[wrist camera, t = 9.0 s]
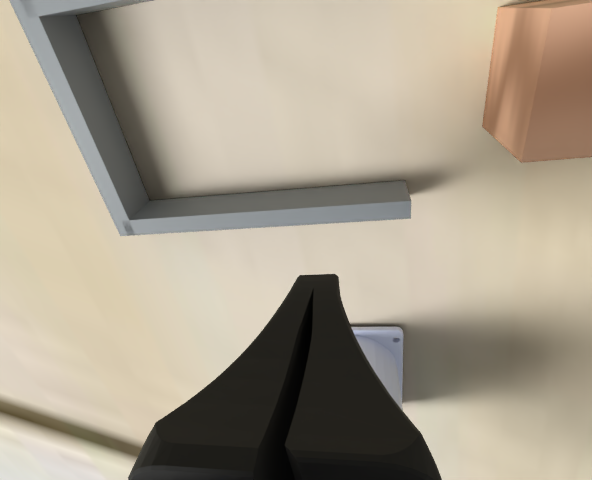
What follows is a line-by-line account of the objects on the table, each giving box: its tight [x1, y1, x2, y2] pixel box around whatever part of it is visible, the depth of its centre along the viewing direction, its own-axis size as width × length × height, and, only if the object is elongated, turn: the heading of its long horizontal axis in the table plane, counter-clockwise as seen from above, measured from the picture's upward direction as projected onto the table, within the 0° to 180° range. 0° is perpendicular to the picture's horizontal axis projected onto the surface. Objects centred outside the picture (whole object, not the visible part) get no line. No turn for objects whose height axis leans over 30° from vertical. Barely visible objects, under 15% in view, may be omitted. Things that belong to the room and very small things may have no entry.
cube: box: [482, 0, 592, 163], centre depth 14 cm, size 5×5×5 cm
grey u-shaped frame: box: [10, 0, 411, 236], centre depth 18 cm, size 12×16×2 cm
